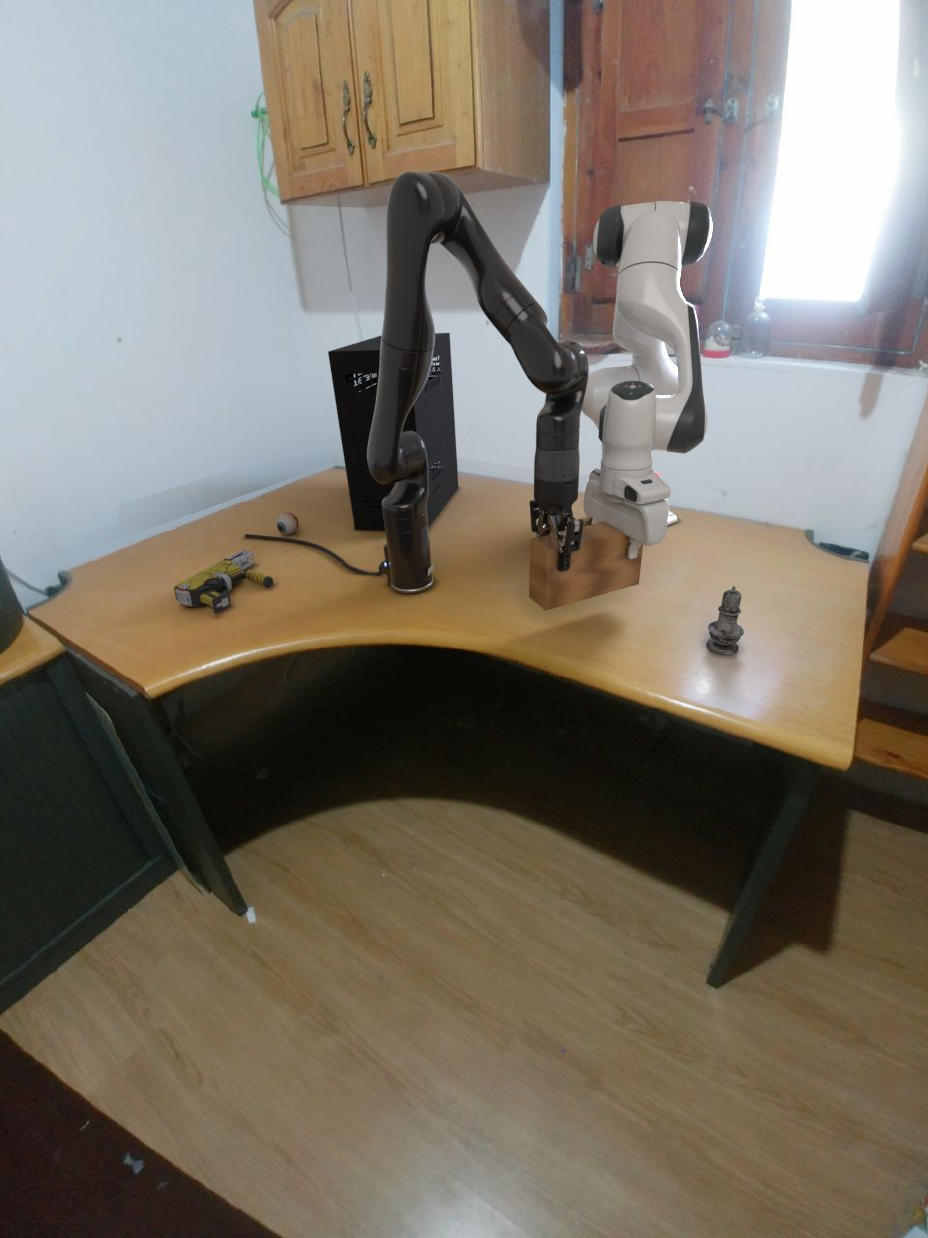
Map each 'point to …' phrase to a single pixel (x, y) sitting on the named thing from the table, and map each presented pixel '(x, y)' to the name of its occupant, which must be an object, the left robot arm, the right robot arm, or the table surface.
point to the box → (582, 567)
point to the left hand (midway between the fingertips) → (553, 563)
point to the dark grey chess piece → (726, 625)
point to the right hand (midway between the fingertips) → (618, 550)
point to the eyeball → (287, 523)
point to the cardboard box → (424, 418)
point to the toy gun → (218, 582)
